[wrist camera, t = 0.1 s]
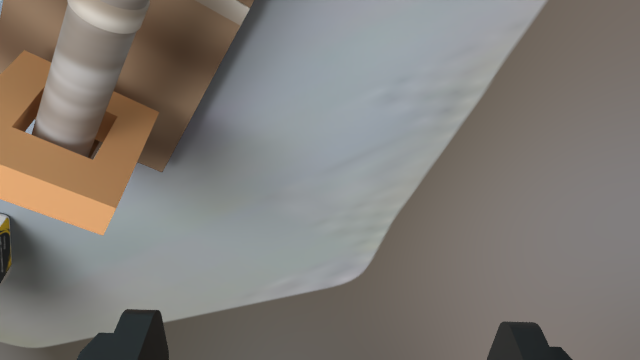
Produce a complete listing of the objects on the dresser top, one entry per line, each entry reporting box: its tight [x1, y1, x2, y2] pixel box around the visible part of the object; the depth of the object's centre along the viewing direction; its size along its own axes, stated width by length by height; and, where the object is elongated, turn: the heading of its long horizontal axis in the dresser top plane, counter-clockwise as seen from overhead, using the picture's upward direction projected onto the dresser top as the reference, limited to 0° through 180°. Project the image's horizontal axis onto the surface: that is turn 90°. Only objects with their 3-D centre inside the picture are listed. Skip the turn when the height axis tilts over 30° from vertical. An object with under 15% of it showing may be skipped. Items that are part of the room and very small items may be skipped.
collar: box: [0, 50, 159, 235], centre depth 27 cm, size 2×8×8 cm, turn 58°
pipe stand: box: [0, 0, 254, 172], centre depth 26 cm, size 22×12×9 cm, turn 148°
